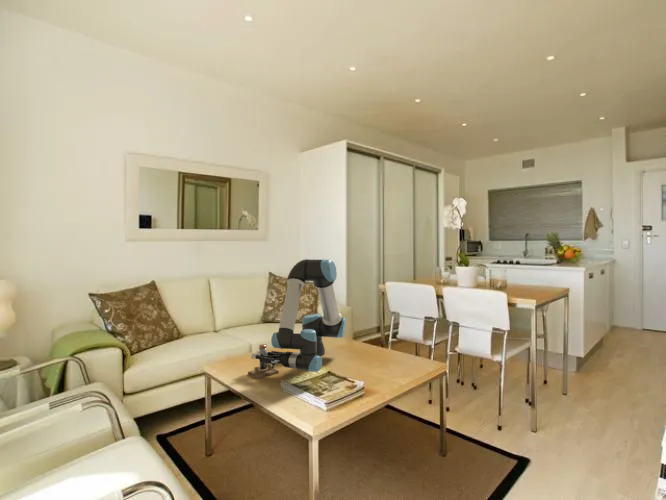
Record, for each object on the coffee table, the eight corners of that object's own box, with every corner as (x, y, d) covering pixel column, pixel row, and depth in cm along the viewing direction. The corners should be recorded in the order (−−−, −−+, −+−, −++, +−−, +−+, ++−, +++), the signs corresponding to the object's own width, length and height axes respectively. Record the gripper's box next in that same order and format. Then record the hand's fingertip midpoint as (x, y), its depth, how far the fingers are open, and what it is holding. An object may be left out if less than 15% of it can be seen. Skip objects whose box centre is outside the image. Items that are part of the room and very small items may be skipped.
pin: (264, 366, 196) (263, 343, 195) (268, 368, 193) (267, 345, 193) (258, 368, 193) (257, 345, 193) (262, 370, 191) (261, 346, 190)
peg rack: (268, 368, 201) (267, 361, 201) (278, 373, 194) (278, 365, 193) (248, 374, 193) (247, 366, 193) (258, 379, 185) (258, 371, 185)
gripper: (282, 373, 177) (244, 366, 188) (301, 362, 192) (264, 357, 203) (282, 357, 177) (243, 351, 188) (301, 348, 192) (264, 343, 203)
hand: (254, 354), depth 195 cm, fingers closed on pin, 3 cm apart
